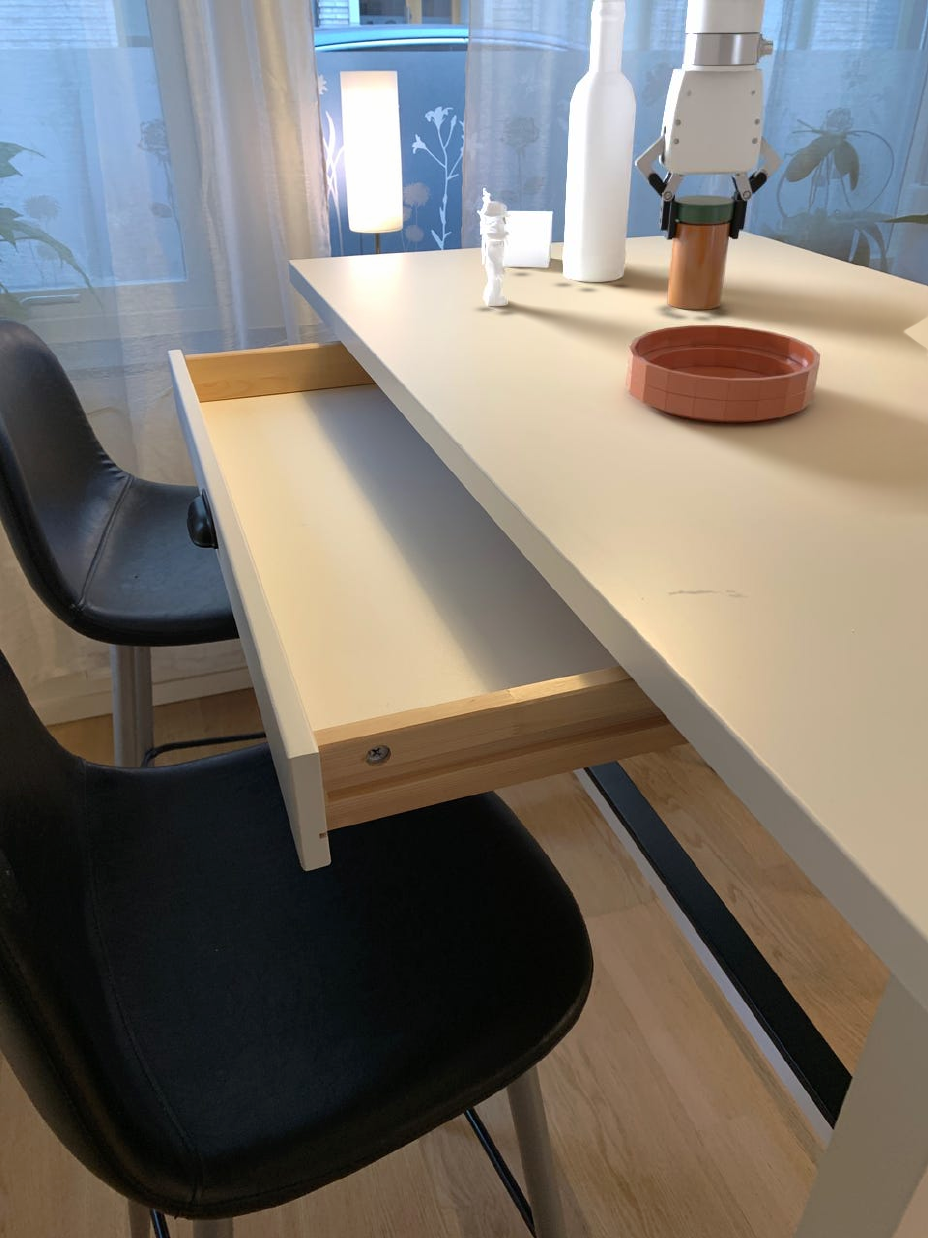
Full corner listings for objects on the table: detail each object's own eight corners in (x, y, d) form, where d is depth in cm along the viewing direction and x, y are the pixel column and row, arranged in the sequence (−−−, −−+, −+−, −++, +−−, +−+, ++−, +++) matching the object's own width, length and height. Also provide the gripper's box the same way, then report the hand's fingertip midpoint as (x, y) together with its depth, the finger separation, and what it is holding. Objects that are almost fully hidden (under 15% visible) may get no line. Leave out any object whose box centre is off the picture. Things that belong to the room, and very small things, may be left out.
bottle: (550, 277, 126) (561, -1, 110) (580, 265, 131) (594, -1, 115) (606, 285, 122) (625, -1, 106) (634, 273, 127) (657, -1, 111)
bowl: (782, 366, 94) (789, 324, 92) (836, 427, 80) (846, 379, 78) (615, 367, 94) (618, 325, 92) (640, 428, 81) (645, 380, 78)
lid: (665, 213, 112) (666, 196, 111) (721, 210, 112) (723, 193, 111) (682, 223, 106) (684, 206, 105) (741, 221, 107) (743, 203, 106)
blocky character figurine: (475, 292, 119) (475, 185, 113) (508, 291, 119) (509, 184, 113) (479, 312, 112) (479, 198, 105) (514, 311, 112) (516, 198, 105)
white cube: (503, 266, 131) (503, 218, 128) (507, 257, 136) (507, 210, 133) (548, 267, 130) (550, 219, 127) (550, 257, 135) (552, 211, 132)
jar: (714, 295, 117) (725, 199, 111) (726, 309, 112) (738, 209, 106) (662, 296, 117) (670, 200, 111) (672, 310, 112) (680, 210, 106)
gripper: (794, 51, 104) (767, 230, 114) (630, 53, 104) (618, 231, 114) (815, 54, 98) (786, 243, 107) (642, 56, 98) (627, 244, 107)
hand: (700, 235), depth 110 cm, fingers closed on lid, 6 cm apart
